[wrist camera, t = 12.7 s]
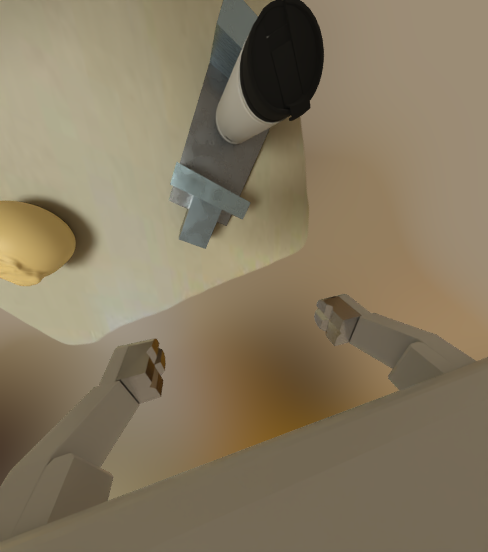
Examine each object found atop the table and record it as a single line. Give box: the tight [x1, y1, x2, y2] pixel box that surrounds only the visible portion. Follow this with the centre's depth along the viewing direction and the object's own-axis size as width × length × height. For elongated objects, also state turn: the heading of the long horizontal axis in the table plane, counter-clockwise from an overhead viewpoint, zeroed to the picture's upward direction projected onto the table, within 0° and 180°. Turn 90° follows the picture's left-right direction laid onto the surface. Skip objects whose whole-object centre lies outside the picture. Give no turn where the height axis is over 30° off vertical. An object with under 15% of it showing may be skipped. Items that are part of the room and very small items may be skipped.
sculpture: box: [0, 201, 76, 286], centre depth 27 cm, size 11×12×11 cm
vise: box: [169, 0, 270, 226], centre depth 28 cm, size 24×12×10 cm, turn 152°
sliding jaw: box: [170, 162, 250, 249], centre depth 31 cm, size 11×12×8 cm
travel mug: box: [215, 0, 324, 145], centre depth 21 cm, size 6×7×20 cm
